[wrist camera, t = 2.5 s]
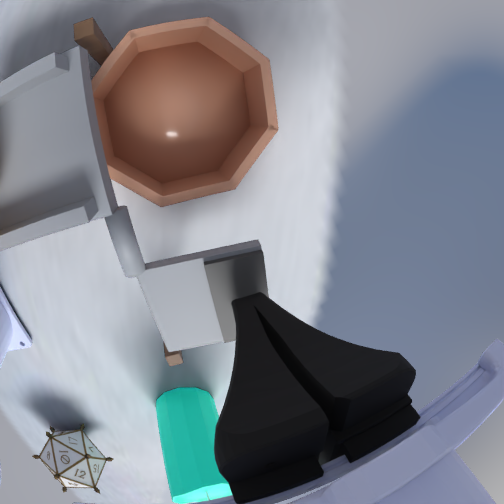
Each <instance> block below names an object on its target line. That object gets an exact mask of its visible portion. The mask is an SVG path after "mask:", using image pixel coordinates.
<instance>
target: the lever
mask: <svg viewBox="0 0 504 504" xmlns="http://www.w3.org/2000/svg"><path fill="white" fill-rule="evenodd" d="M103 217H105V220H106V224H107V227H108V230H109V233H110V236H111V239H112V242H113V244H114V247H115V250H116V253H117V256H118V258H119V261H120V264H121V266H122V269H123V272H124V274H125V276H126V277H128V278H133V277H137V279H138V281H139V284H140V287H141V289H142V292H143V294H144V297H145V299H146V302H147V304H148V307H149V309H150V311H151V314H152V316H153V318H154V321H155V323H156V325H157V328H158V330H159V332H160V334H161V336H162V339H163V341H164V343H165V345H166V347H167V349H168V351H169V352H173V351H178V350H184V349H189V348H195V347H200V346H205V345H210V344H215V343H220V342H224V343H226V342H231V341H235V340H236V322H235V318H234V314H233V309H232V305H231V302H232V301H233V300H235V299H238V298H242V297H245V296H248V295H252V294H255V293H259V292H262V293H264V294H265V295H266V296H267V297H268V298H269V296H268V288H267V280H266V271H265V263H264V255H263V251H262V250H261V245H260V243H259V241H258V240H253V241H248V242H244V243H239V244H234V245H229V246H225V247H220V248H215V249H210V250H206V251H201V252H196V253H192V254H187V255H182V256H178V257H173V258H169V259H164V260H160V261H155V262H150V263H146V264H145V263H144V260H143V257H142V254H141V251H140V248H139V245H138V242H137V239H136V236H135V232H134V229H133V226H132V223H131V219H130V216H129V212H128V209H127V206H119V207H118V205H117V201H116V198H115V194H114V190H113V187H112V183H111V179H110V175H109V171H108V167H107V163H106V159H105V154H104V150H103V145H102V141H101V136H100V131H99V126H98V120H97V115H96V109H95V103H94V97H93V90H92V83H91V76H90V67H89V58H88V50H86V49H84V48H83V47H81V46H77V47H74V48H72V49H70V50H67V51H65V52H63V53H61V54H58V53H56V52H54V53H52V54H49V55H47V56H45V57H43V58H41V59H40V60H38V61H36V62H34V63H32V64H30V65H28V66H27V67H25V68H23V69H21V70H19V71H18V72H16V73H14V74H13V75H11V76H9V77H8V78H6V79H5V80H3V81H2V82H0V251H2V250H5V249H8V248H11V247H13V246H16V245H19V244H22V243H25V242H28V241H31V240H34V239H37V238H40V237H43V236H46V235H49V234H52V233H55V232H59V231H62V230H65V229H68V228H72V227H75V226H78V225H82V224H85V223H89V222H90V221H92V220H96V219H99V218H103Z"/></svg>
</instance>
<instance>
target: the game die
mask: <svg viewBox="0 0 504 504" xmlns="http://www.w3.org/2000/svg"><path fill="white" fill-rule="evenodd" d="M84 428H85V427H84V423H83V424H82V425H81V426H80V429H79V430H67V431H55V429H54V428H53V427H51V426H50V430H51V431H52V432H53V433H52V434H50V433H49V432H46V436H48V437H49V439H48V441H47V443H46V444H45V446H44V448H43V450H42V452H41V453H40V455H39V456H38V455H34V456H32V457H34V458H35V459H39V458H40V459H41V461H42V462H43V463H44V464H45V466H46V467H47V468H48V469H49V470H50V472H51V473H52V474H53V475H54V478H55V479H57V480H58V481H59V482H60V483H61V484H62V485H63V486H64V487H63V492H66V490H67V487H70V488H94V491H96V492H97V493H100V490H99V489H98V488H96V485H97V483H98V480H99V478H100V475H101V473H102V470H103V468H104V465H105V463H106V461H112V460H113V458H110V457H108V458H105V457H104V455H103V454H102V453H101V452H100V451H99V450H98V449H97V447H96V446H95V445H94V444H93V443H92V442H91V440H90V439H89V438H88V437H87V435H86V434H85V433H84V432H83V429H84Z"/></svg>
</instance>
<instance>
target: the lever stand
mask: <svg viewBox="0 0 504 504" xmlns="http://www.w3.org/2000/svg"><path fill="white" fill-rule="evenodd" d="M74 40H75V41H76V42H77V43H78V44H79V45H80V46H81V47H83V48H84V49H86V50H88V54H90V55H91V56H92V57H93V58H94V59H95V60H96V61H97V62H98V63H99V64H100V65H101V66H102V65H103V63H104V62H105V60H106V59H107V58H108V56H109V55H110V54H111V53H112V51H113V48H112V47H111V45H110V44H109V42H108V41H107V39H106V37H105V36H104V34H103V33H102V31H101V30H100V28H99V26H98V25H97V23H96V22H95V20H94V18H90V19H87V20H84V21H81V22H78V23H76V24H74ZM163 343H164V341H163ZM164 352H165V358H166V360H167V362H168V364H169V366H174V365H178V364H182V363H183V358H182V353H181V350H178V351H173V352H169V351H168V349H167V347H166V345H165V343H164Z"/></svg>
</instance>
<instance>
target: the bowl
mask: <svg viewBox="0 0 504 504" xmlns="http://www.w3.org/2000/svg"><path fill="white" fill-rule="evenodd" d="M91 83H92V90H93V97H94V103H95V109H96V115H97V120H98V126H99V131H100V136H101V141H102V145H103V150H104V154H105V159H106V163H107V167H108V171H109V175H110V178H111V179H112V180H114V181H116V182H118V183H119V184H121V185H123V186H125V187H126V188H128V189H130V190H132V191H133V192H135V193H137V194H139V195H140V196H142V197H144V198H146V199H147V200H149V201H151V202H153V203H155V204H156V205H158V206H160V207H164V206H168V205H172V204H176V203H180V202H183V201H187V200H192V199H196V198H200V197H204V196H208V195H212V194H217V193H221V192H226V191H230V190H235V189H236V187H237V186H238V184H239V183H240V182H241V180H242V179H243V177H244V176H245V175H246V173H247V172H248V170H249V169H250V168H251V166H252V165H253V164H254V162H255V161H256V159H257V158H258V157H259V155H260V154H261V153H262V151H263V150H264V149H265V147H266V146H267V145H268V143H269V142H270V140H271V139H272V138H273V136H274V135H275V134H276V133H277V131H278V121H277V113H276V105H275V97H274V90H273V82H272V75H271V68H270V61H269V59H268V58H267V57H265V56H264V55H263V54H261V53H260V52H259V51H258V50H256V49H255V48H254V47H252V46H251V45H250V44H248V43H247V42H246V41H244V40H243V39H241V38H240V37H239V36H237V35H236V34H234V33H233V32H231V31H230V30H228V29H227V28H226V27H224V26H223V25H221V24H220V23H218V22H216V21H215V20H213V19H212V18H210V17H202V18H194V19H186V20H179V21H173V22H167V23H161V24H156V25H151V26H146V27H142V28H137V29H133V30H130V31H129V32H128V33H127V34H126V35H125V36H124V38H123V39H122V40H121V41H120V42H119V44H118V45H117V46H116V47H115V49H114V50H113V51H112V53H111V54H110V55H109V56H108V58H107V59H106V60H105V62H104V63H103V65H102V66H101V67H100V69H99V70H98V72H97V73H96V74H95V76H94V77H93V79H92V80H91Z"/></svg>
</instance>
